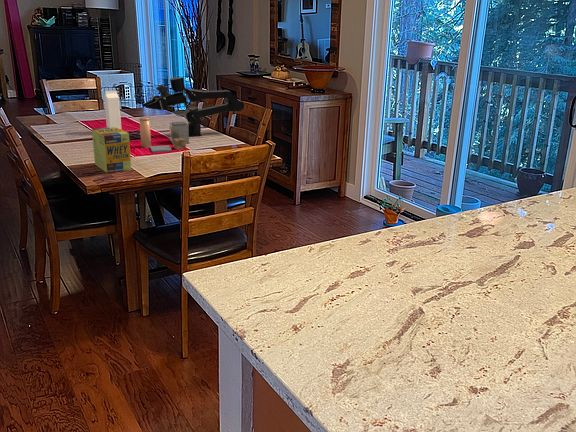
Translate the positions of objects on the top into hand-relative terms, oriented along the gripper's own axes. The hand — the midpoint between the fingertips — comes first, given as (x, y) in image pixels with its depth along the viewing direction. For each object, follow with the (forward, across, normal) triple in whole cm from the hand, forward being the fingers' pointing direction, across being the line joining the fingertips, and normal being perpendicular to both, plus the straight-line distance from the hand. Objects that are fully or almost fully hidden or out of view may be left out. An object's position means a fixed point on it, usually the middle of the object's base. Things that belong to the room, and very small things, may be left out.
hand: (144, 106), depth 280 cm
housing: (-11, +12, +20) cm, 25 cm away
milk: (+16, -18, +12) cm, 27 cm away
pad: (+1, +25, +19) cm, 31 cm away
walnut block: (-8, +24, +20) cm, 33 cm away
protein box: (+25, +49, +17) cm, 58 cm away
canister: (+6, +16, +17) cm, 24 cm away
